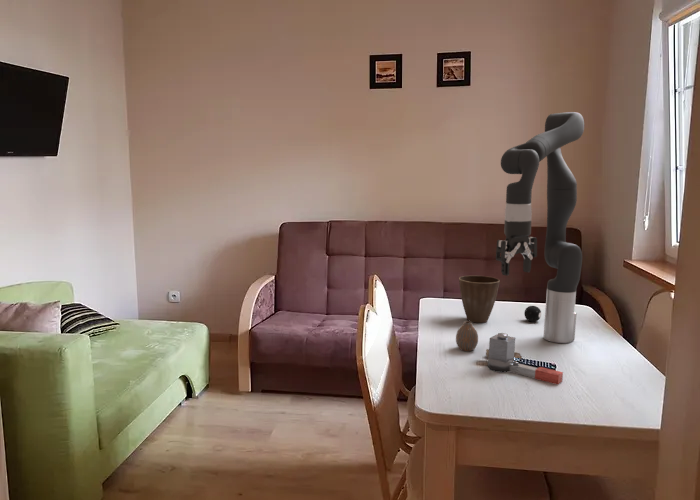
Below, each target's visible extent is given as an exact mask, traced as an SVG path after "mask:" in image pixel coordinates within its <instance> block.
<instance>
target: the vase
mask: <svg viewBox="0 0 700 500" xmlns="http://www.w3.org/2000/svg"><path fill="white" fill-rule="evenodd" d="M475 328H476V327H474V325H473V322H470V321H463V323H462V325H461V326H460V327H459V328H458V330H457V332H456V334H455V343H456V346H457V347H458V348H459V350H461V351H462V352H463V351H464V352H471V351H474V350H475V349H476V348H477V346H478V343H479V334H478V331H477V329H475Z"/></svg>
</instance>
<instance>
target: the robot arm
mask: <svg viewBox="0 0 700 500" xmlns="http://www.w3.org/2000/svg"><path fill="white" fill-rule="evenodd" d="M584 130H585V121H584V117H583V115H582V114H581V113H579V112H577V111H576V112H575V111H567V112H557V113H555V112H554V113H550V114H548V116H547V117H546V118H545V123H544V132H541V133H538V134H536V135H535V136H532V137H531V138H530V139H529V140H527V141H526V142H524V143H521V144H519V145H515V146H513V147H511V148H509V149H507V150H506V151H504V153H503V154H502V155H501V158H500V167H501V170H502V171H503V172H504V173H506V174H508V175H521V176H520V179H519V180H518V181H514V182H510V183H509V184H507V185H506V196H505V197H506V198H505V209H504V229H503V232H504V233H503V234H504V235H505V240H500V239H498V240H497V241H496V249H495V260H496V261H499V262H500V263H501V266H500V268H501V269H500V272H501V275H502V276H507V277H508V276H510V261H511V259H512V258H514V256H515V255H518V254H521V255H522V257H523V265H522V267H523V269H522V271H523V272H524V273H531V269H532V260H533V258H537V257H538V238H537V236H535V237H534V236H531V234H532V218H533V215H532V213H533V211H532V210H533V209H532V192H533V191H532V190H533V185H534V183H535V179H536V177H537V173H538V169H539V167H540V166H539V165H540V162H541V161H543V159H545V158H546V162H547V163H546V164H547V165H546V166H547V167H546V168H547V169H546V170H547V171H546V173H547V175H546V176H547V177H546V179H547V180H546V202H547V203H546V206H547V209H546V210H547V211H546V213H547V214H546V234H545V244H544V259H545V260H544V261H545V262H546V264H547V265H548V266H549V267H550V268H554V269H557V271H556V276H555V277H554V278H551V279H549V280H548V281H547V286H546V295H545V298H546V299H545V300H546V301H545V308H544V309H545V310H544V323H543V337H542V338H543V339H544V340H546V341H548V342H551V343H557V344H558V343H559V344H569V343H572V342H574V341H575V338H576V336H575V335H576V325H577V313H576V312H575V310H576V309H575V307H576V299H577V297H576V296H577V288H578V285H579V284H580V280H581V274H582V273H581V272H582V266H583V265H582V264H583V252H582V249H581V247H580V246H578V245H577V244H574V243H572V242H567V241H566V240H567V239H566V238H567V237H566V236H567V234H566V233H567V225H568V222H569V220H570V218H571V216H572V214H573V212H574V210H575V208H576V206H577V201H578V200H577V199H578V184H577V179H576V177H575V176H574V174H573V172H572V171H571V169H570V168H569V166H568V165H567V163H566V161H565V160H564V158H563V154H562V149H561V148H562V147H564V146H566V145H568V144H570V143H573V142H576V141H578V140H579V139H580V138H582V136H583V133H584V132H585V131H584Z"/></svg>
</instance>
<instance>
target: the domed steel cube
mask: <svg viewBox="0 0 700 500" xmlns="http://www.w3.org/2000/svg"><path fill="white" fill-rule="evenodd" d="M515 348H516V337H513V336H511V335H510V336H509V335H508V334H507V333H503V332H499V333H497V334H495V335H493V336H491V337H489V343H488V349H489V357H488V358H490V359H494V360H498V361H502V362H508V361H510V360H511V359H513V358H514V352H516V351H515ZM488 358H487V359H488Z"/></svg>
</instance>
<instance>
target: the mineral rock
mask: <svg viewBox="0 0 700 500" xmlns="http://www.w3.org/2000/svg"><path fill="white" fill-rule="evenodd" d="M485 356H486V358H487V359H488V357H489V348H488V349H487V348H486V350H485ZM514 357H515V358H520V359H522V358H523V356H522V354H521V353H520V352H516V351H514Z"/></svg>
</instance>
